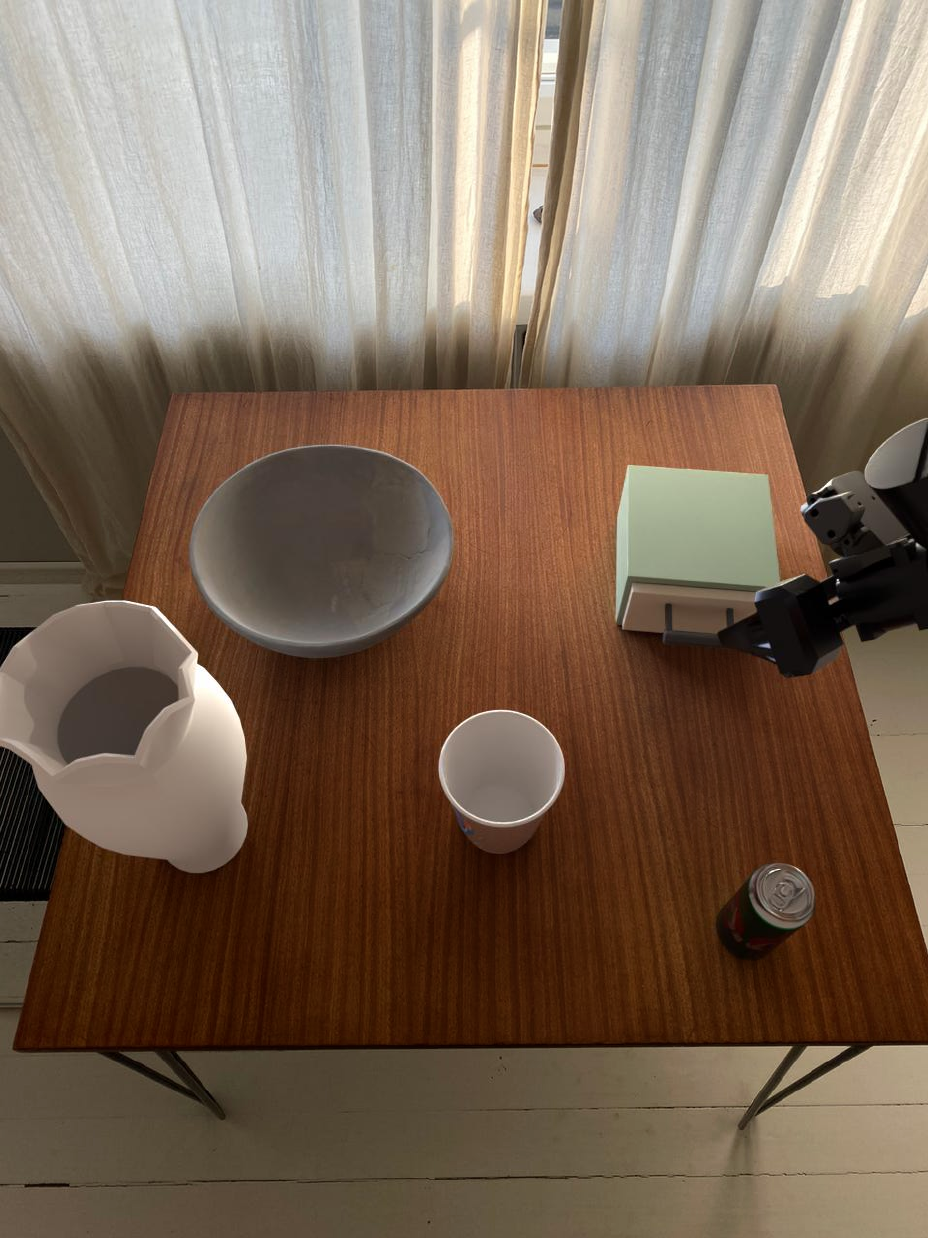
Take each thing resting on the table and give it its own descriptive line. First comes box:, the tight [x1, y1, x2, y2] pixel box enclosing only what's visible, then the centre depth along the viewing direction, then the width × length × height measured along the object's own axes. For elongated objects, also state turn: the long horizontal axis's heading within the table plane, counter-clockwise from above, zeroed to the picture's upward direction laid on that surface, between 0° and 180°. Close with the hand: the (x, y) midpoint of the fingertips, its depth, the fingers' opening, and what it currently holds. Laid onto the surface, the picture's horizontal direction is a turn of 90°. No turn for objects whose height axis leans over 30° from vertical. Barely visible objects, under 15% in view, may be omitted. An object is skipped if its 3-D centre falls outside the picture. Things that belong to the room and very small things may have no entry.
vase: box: [0, 600, 249, 874], centre depth 69 cm, size 15×15×29 cm
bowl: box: [189, 444, 455, 659], centre depth 91 cm, size 26×26×10 cm
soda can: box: [715, 862, 816, 961], centre depth 70 cm, size 5×5×12 cm
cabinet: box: [615, 464, 781, 626], centre depth 93 cm, size 15×15×9 cm
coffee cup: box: [438, 709, 566, 855], centre depth 76 cm, size 10×10×12 cm
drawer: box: [621, 582, 758, 651], centre depth 90 cm, size 18×14×7 cm
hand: (753, 621), depth 70 cm, fingers open, 9 cm apart
